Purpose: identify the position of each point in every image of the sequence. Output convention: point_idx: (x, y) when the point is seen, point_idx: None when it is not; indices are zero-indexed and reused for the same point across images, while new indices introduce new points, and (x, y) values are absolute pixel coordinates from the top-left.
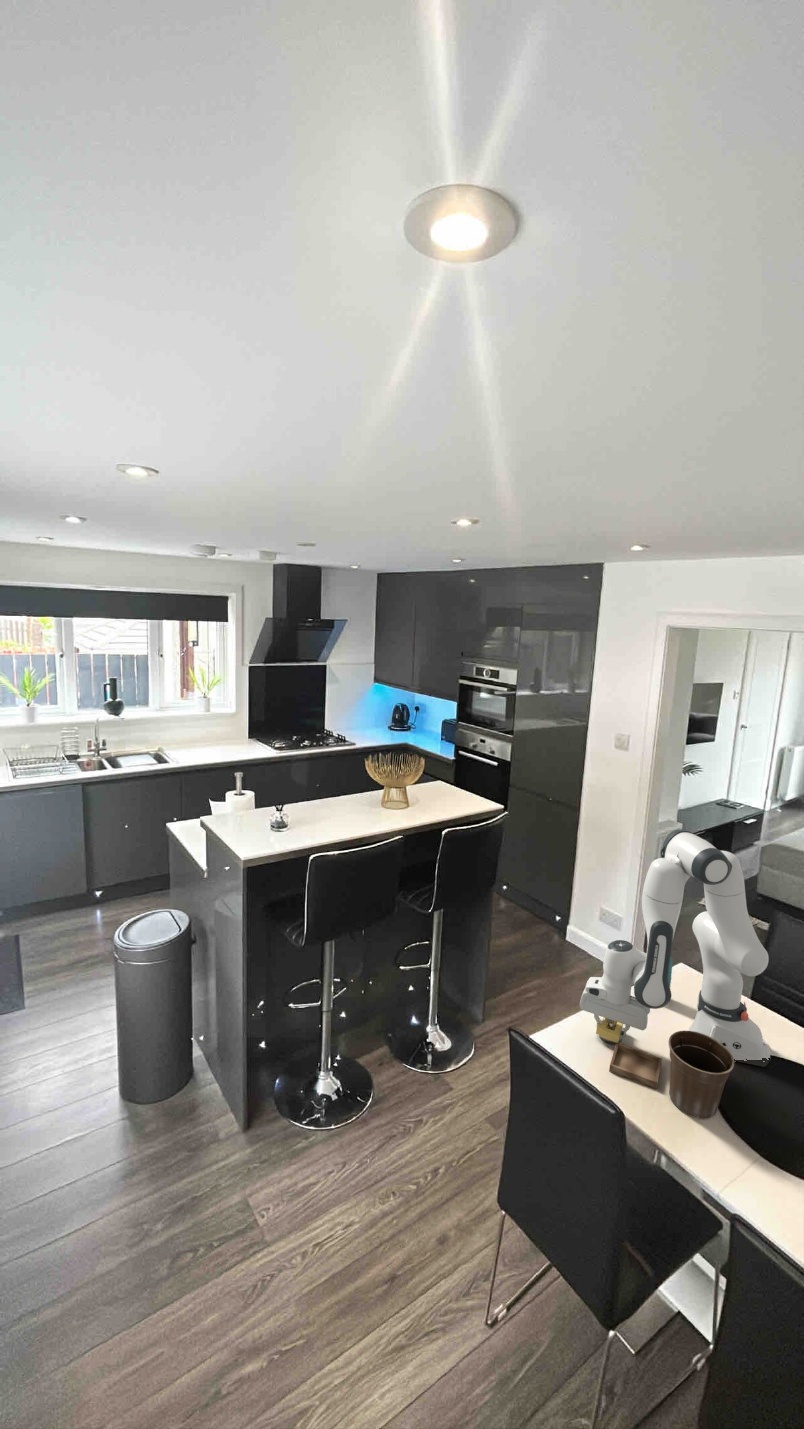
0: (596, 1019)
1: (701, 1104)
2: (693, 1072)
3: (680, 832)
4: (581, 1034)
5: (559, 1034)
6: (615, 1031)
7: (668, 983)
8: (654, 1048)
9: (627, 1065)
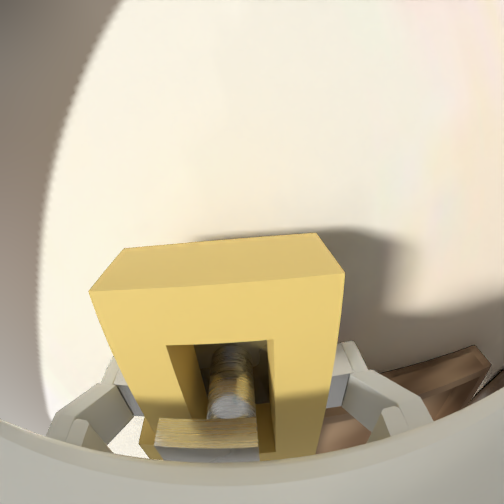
0: (108, 433)
1: None
2: None
3: None
4: (95, 378)
5: (49, 403)
6: (284, 453)
7: None
8: (479, 260)
9: (348, 437)
